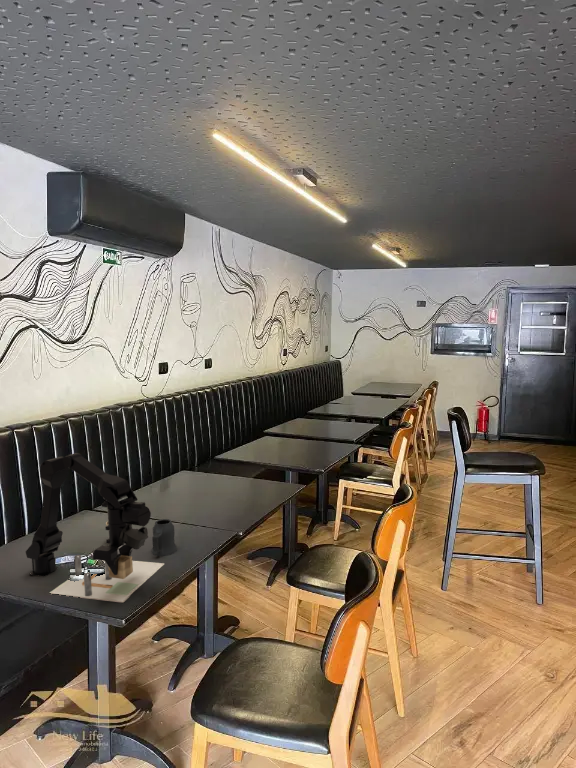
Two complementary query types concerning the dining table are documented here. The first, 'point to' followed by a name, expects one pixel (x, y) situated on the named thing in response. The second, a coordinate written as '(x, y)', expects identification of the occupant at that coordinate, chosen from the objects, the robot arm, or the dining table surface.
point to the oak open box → (123, 567)
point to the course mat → (120, 586)
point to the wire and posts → (88, 576)
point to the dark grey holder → (163, 538)
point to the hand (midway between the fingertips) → (120, 571)
